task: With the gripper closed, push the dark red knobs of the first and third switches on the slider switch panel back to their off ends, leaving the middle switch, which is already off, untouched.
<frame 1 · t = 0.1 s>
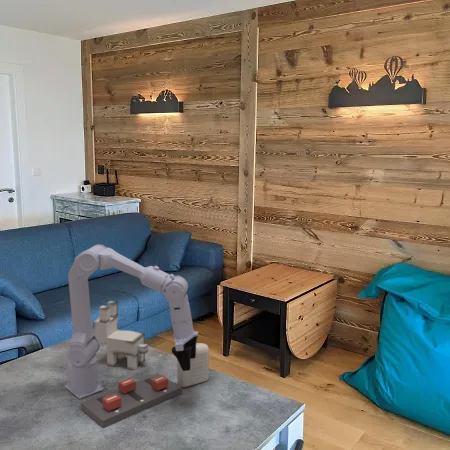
hand: (189, 364, 140), 11 cm above the table, tool pointing down, fingers open, 7 cm apart
slider switch panel: (133, 401, 139), on the table
switch 3: (159, 382, 143), point 4 cm above the table, slide at 0.0 cm
switch 1: (111, 402, 132), point 4 cm above the table, slide at 0.0 cm
toy llama: (123, 363, 163), on the table
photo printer: (193, 382, 151), on the table
switch 2: (127, 385, 141), point 4 cm above the table, slide at 5.0 cm
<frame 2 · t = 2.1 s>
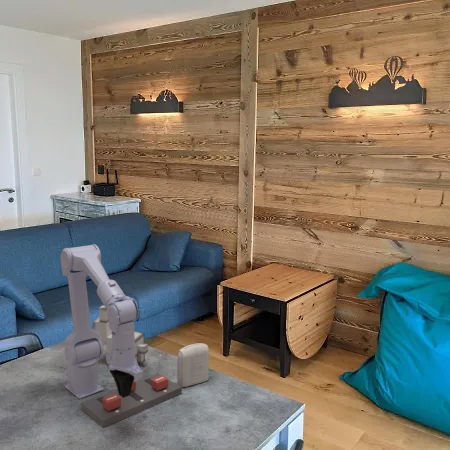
hand: (124, 395, 126), 8 cm above the table, tool pointing down, fingers closed
nothing on the table moved.
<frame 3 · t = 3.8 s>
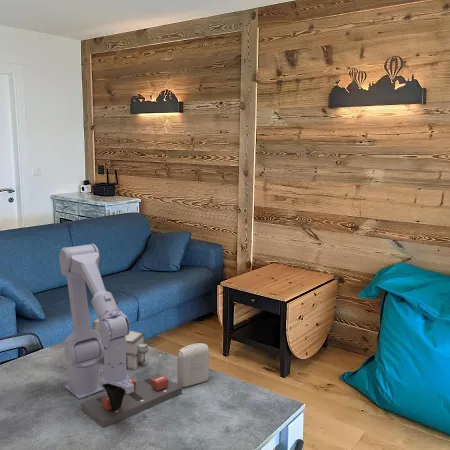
hand: (116, 407, 130), 3 cm above the table, tool pointing down, fingers closed
switch 1: (111, 401, 132), point 4 cm above the table, slide at 0.4 cm, touching gripper
everything else where it was.
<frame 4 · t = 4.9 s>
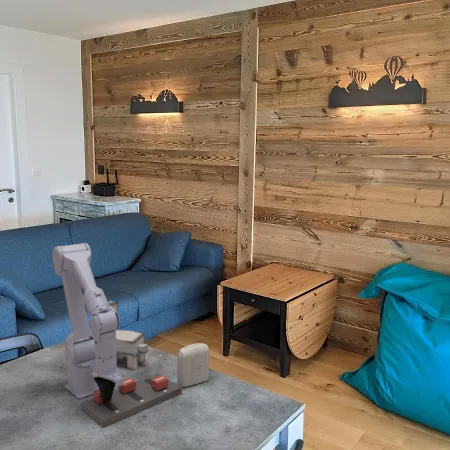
hand: (107, 400, 134), 3 cm above the table, tool pointing down, fingers closed
switch 1: (102, 394, 135), point 4 cm above the table, slide at 5.1 cm, touching gripper
everything else where it was.
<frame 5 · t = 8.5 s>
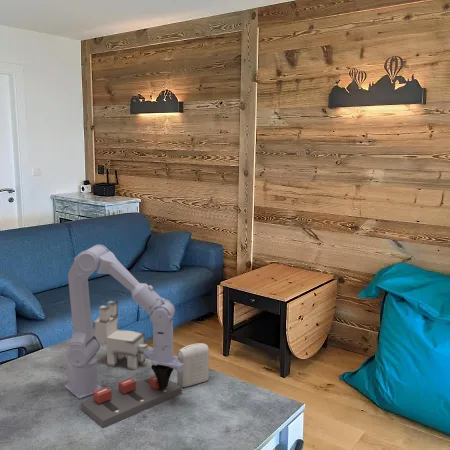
hand: (163, 387, 141), 3 cm above the table, tool pointing down, fingers closed
switch 3: (157, 381, 143), point 4 cm above the table, slide at 1.0 cm, touching gripper
switch 1: (102, 394, 135), point 4 cm above the table, slide at 5.1 cm
everything else where it was.
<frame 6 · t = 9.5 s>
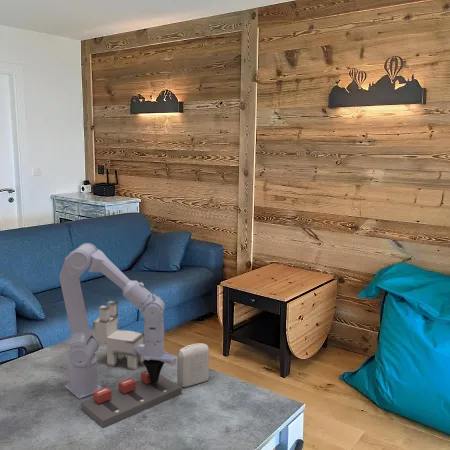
hand: (154, 381, 145), 3 cm above the table, tool pointing down, fingers closed
switch 3: (149, 376, 146), point 4 cm above the table, slide at 5.3 cm, touching gripper
everything else where it was.
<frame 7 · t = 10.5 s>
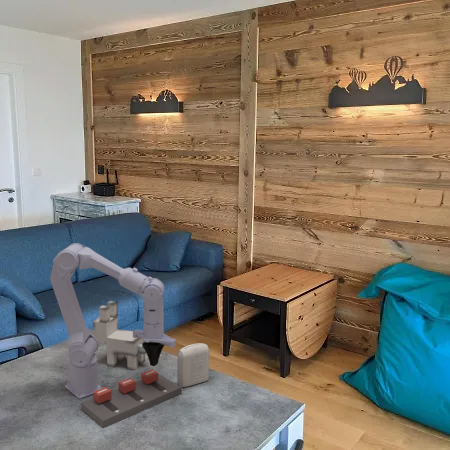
hand: (154, 364, 144), 8 cm above the table, tool pointing down, fingers closed
switch 3: (149, 376, 146), point 4 cm above the table, slide at 5.1 cm
everything else where it was.
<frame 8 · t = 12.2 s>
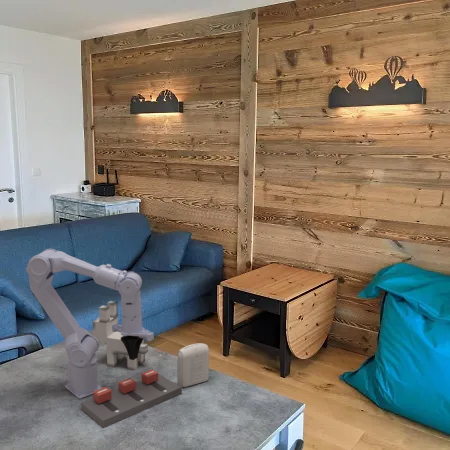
hand: (133, 358, 143), 10 cm above the table, tool pointing down, fingers closed
nothing on the table moved.
at the end: switch 1 slide at 5.1 cm; switch 3 slide at 5.1 cm; switch 2 slide at 5.0 cm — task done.
